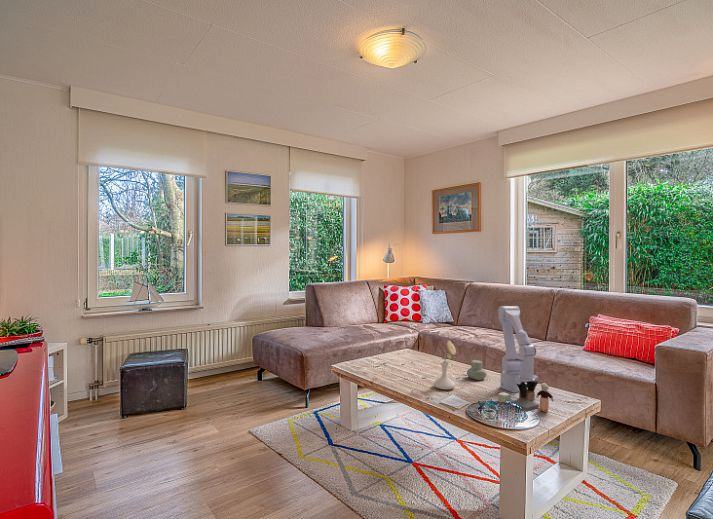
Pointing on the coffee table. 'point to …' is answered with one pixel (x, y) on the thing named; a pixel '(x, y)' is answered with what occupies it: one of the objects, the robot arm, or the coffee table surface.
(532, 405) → the plinth
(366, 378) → the coffee table surface
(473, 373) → the air freshener
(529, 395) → the walnut block
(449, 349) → the flower in vase
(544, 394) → the grandmother figurine
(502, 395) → the sage block
